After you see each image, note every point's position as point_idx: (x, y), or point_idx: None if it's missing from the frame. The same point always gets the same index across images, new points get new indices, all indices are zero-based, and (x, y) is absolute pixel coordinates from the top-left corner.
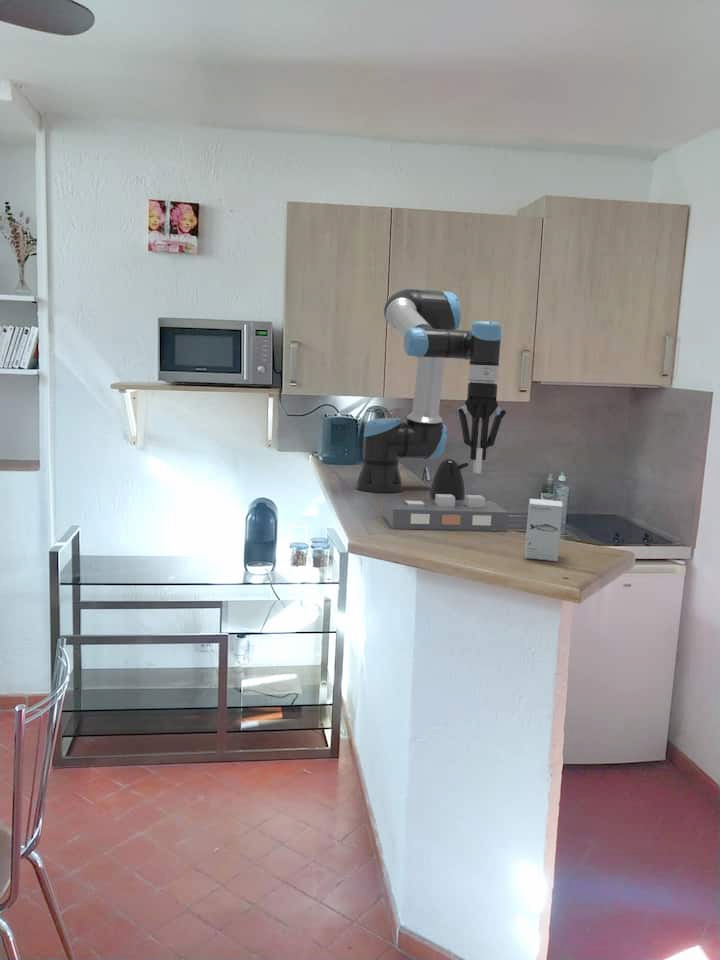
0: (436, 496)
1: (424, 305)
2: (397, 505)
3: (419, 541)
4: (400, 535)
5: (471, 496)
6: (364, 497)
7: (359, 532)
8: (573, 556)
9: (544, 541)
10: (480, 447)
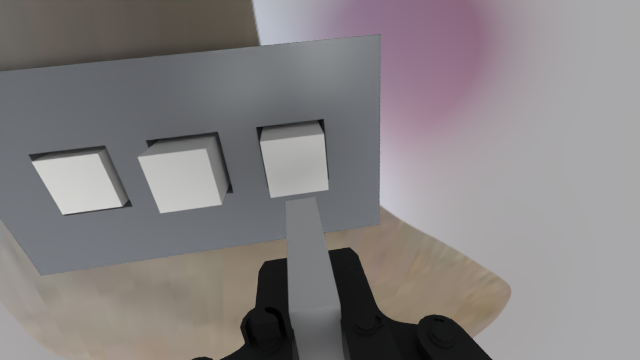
0: (148, 175)
1: None
2: (30, 219)
3: (167, 319)
4: (117, 289)
5: (283, 169)
6: None
7: (14, 288)
8: None
9: None
10: (340, 321)
